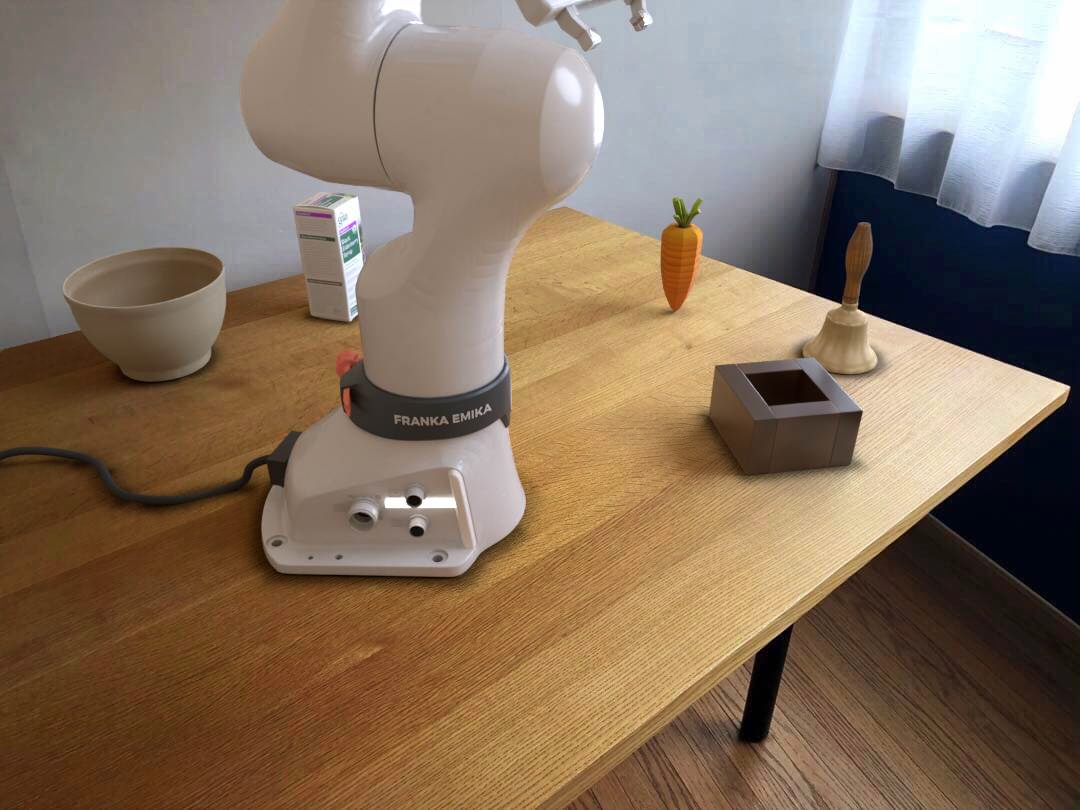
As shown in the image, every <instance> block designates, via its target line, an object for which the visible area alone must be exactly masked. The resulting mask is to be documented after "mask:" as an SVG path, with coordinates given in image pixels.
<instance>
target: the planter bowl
mask: <svg viewBox="0 0 1080 810" xmlns="http://www.w3.org/2000/svg"><path fill="white" fill-rule="evenodd" d="M225 278H226V267H225V264H224V261H223V260H222V259H221V258H220V257H219V256H218V255H216V254H215V253H212V252H210V251H207V250H204V249H200V248H195V247H190V246H189V247H187V246H151V247H150V246H149V247H144V248H143V247H142V248H135V249H129V250H125V251H120V252H116V253H112V254H109V255H105V256H102V257H99V258H96V259H94V260H91V261H89V262H86V263H85V264H83V265H81V266H79V267H78V268H76V269H74V270H73V271H72V272H71V273H70V274H69V275H67V276H66V277H65V278H64V280H63V281H62V283H61V293H62V296H63V298H64V300H65V302H66V303H67V305H68V306H69V308H70V311H71V314H72V316H73V317H74V320H75V322H76V324H77V326H78V328H79V329H80V331H81V333H82V334H83V335H84V336H85V338H86V339H87V340H88V341H89V343H90V344H91V345H92V346H93V347H94V348H95V349H96V350H97V351H99V352H100V353H101V355H102V356H104V357H106V359H108V360H110V361H111V362H112V363H114V364H116V365H117V366H118V367H119V368H120V370H121V372H122V374H123V375H124V376H126V377H128V378H130V379H132V380H135V381H140V382H150V383H153V382H154V383H155V382H165V381H172V380H176V379H180V378H183V377H186V376H189V375H191V374H193V373H196V372H197V371H199V370H200V369H202V368H204V367H205V366H206V365H207V363H208V362H209V361H210V359H211V356H212V347H213V345H214V344H215V342H216V340H217V339H218V336H219V334H220V332H221V329H222V326H223V322H224V319H225V314H226V309H227V308H226V307H227V290H226V289H227V287H226V281H225V280H226V279H225Z"/></svg>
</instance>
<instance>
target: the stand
mask: <svg viewBox="0 0 1080 810" xmlns="http://www.w3.org/2000/svg"><path fill="white" fill-rule="evenodd" d="M863 414H864V410H863V409H862V408H861V407H860V405H859V404H858V403H857V402H856V401H855V400H854V399H853V398H852V397H851V396H850V395H849V394H848V393H847V392H846V390H845V389H844V388H843V387H842V386H841V385H840V384H839V383H838V382H837V381H836V380H835V379H834V377H833V376H831V375H830V373H829V371H826V370H825V369H824V368H823V367H822V366H821V365H820V364H819V363H818V362H817V361H816V360H815V358H813V357H811V358H804V357H800V358H799V357H798V358H789V359H787V358H786V359H775V360H764V361H753V362H751V361H750V362H738V363H727V364H715V365H714V371H713V379H712V388H711V395H710V402H709V411H708V417H709V420H710V421H711V422H712V425H714V427H715V429H716V430H717V431H718V433H719V435H720V436H721V439H722V440H723V441H724V443H725V444H726V446H727V447H728V449H729V451H730V452H731V454H732V455H733V457H734V458H735V460H736V461H737V463H738V465H739V467H740V468H741V470H742V471H743V473H744V474H745V476H751V475H761V474H771V473H781V472H792V471H801V470H810V469H821V468H829V467H839V466H850V465H852V461H853V457H854V452H855V448H856V444H857V439H858V435H859V431H860V426H861V423H862V417H863Z"/></svg>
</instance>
